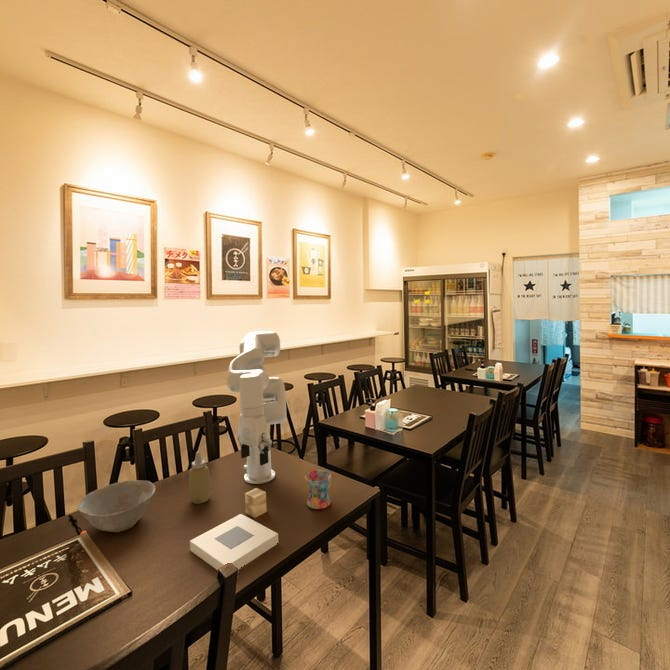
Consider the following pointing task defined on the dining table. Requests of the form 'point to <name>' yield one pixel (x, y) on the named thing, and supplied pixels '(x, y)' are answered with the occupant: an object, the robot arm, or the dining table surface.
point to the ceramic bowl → (117, 505)
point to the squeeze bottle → (199, 481)
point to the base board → (234, 542)
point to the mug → (318, 488)
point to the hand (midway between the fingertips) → (254, 460)
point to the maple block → (255, 502)
